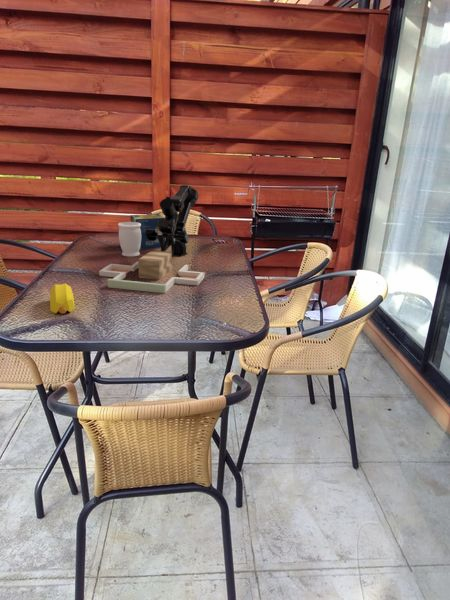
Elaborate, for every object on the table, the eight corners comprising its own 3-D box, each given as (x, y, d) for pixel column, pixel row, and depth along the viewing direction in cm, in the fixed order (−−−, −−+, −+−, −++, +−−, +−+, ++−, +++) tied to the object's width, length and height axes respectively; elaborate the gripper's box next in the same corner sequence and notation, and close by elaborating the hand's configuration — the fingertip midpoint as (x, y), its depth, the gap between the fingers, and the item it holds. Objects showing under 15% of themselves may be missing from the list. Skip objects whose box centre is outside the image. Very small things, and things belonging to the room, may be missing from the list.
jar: (144, 252, 220) (143, 222, 215) (138, 258, 211) (137, 226, 205) (123, 251, 221) (121, 221, 216) (116, 256, 211) (114, 225, 206)
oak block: (152, 267, 198) (152, 250, 195) (172, 269, 196) (171, 252, 193) (138, 277, 184) (138, 259, 181) (159, 280, 182) (159, 261, 179)
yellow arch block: (73, 296, 162) (50, 298, 160) (71, 278, 160) (48, 280, 158) (75, 315, 147) (50, 317, 144) (73, 296, 144) (48, 298, 142)
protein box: (131, 244, 234) (129, 215, 228) (159, 242, 240) (159, 213, 234) (136, 249, 225) (135, 218, 219) (165, 247, 231) (165, 217, 225)
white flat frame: (119, 262, 203) (118, 256, 201) (209, 271, 195) (209, 264, 194) (85, 284, 174) (84, 277, 173) (189, 295, 166) (189, 288, 165)
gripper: (145, 210, 196) (136, 240, 189) (186, 213, 192) (178, 244, 186) (152, 225, 206) (144, 254, 199) (191, 228, 202) (184, 257, 196)
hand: (162, 252), depth 195 cm, fingers closed
